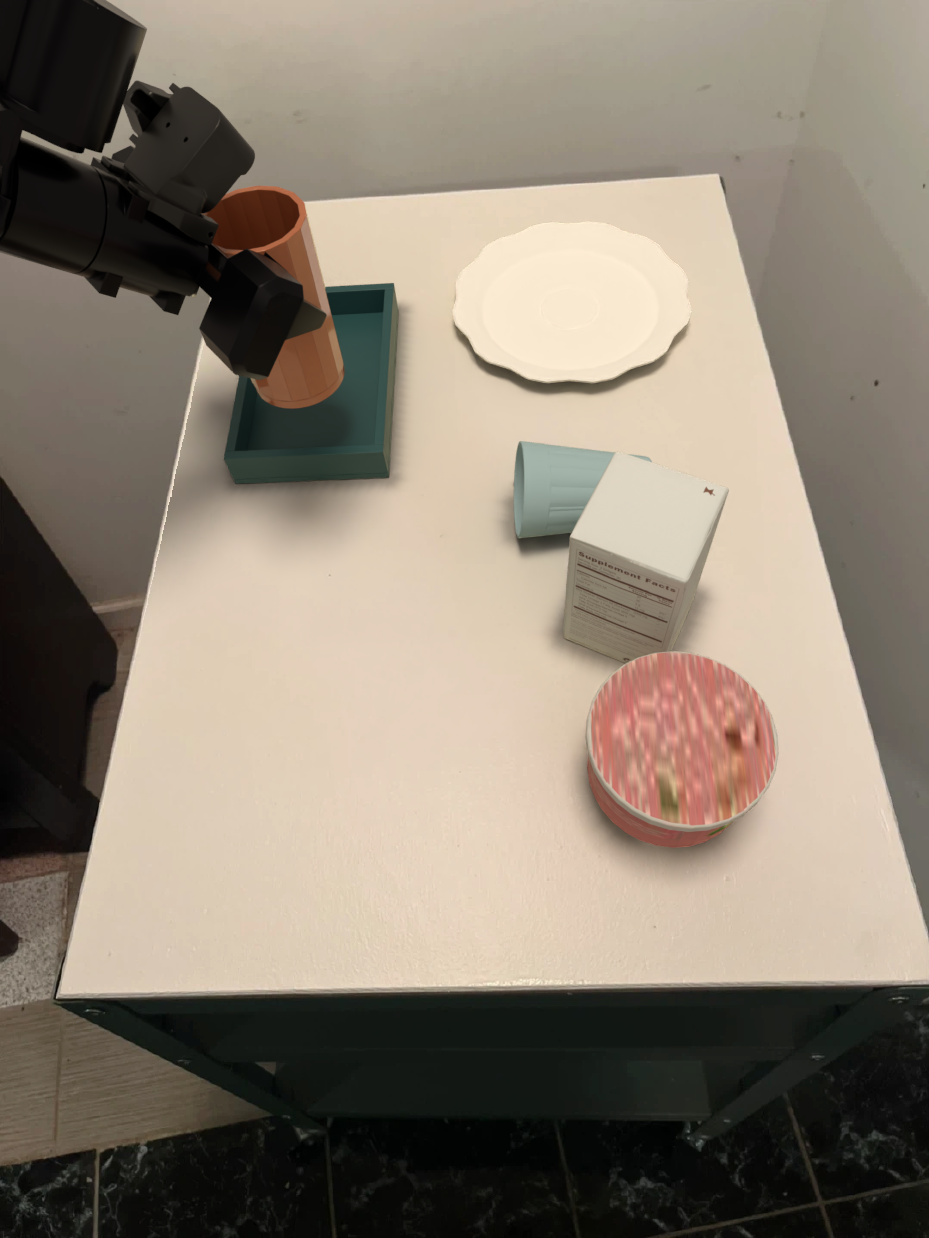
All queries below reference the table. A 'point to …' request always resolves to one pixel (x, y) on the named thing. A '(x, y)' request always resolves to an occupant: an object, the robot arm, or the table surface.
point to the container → (678, 748)
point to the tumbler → (285, 234)
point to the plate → (571, 302)
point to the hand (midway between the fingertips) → (293, 294)
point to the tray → (327, 405)
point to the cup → (554, 486)
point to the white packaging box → (638, 557)
